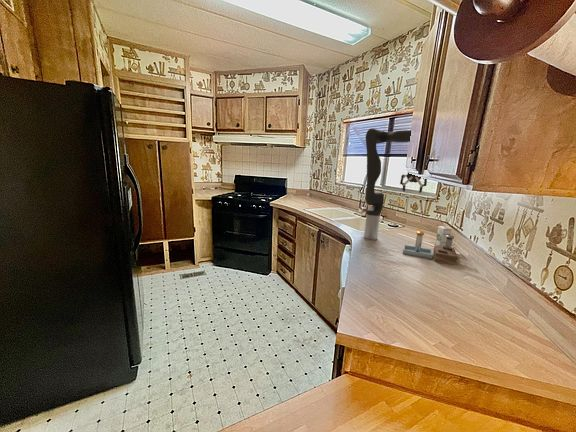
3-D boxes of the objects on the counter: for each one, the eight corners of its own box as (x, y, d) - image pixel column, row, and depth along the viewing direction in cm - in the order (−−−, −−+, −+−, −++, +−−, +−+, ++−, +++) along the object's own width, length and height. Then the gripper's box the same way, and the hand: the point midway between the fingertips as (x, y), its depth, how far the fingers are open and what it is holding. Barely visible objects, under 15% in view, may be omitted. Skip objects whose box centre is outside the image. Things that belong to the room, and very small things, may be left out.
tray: (403, 248, 157) (404, 244, 156) (431, 253, 150) (431, 249, 150) (402, 253, 148) (403, 249, 147) (431, 259, 141) (432, 255, 141)
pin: (442, 254, 148) (445, 234, 145) (450, 256, 146) (454, 235, 143) (442, 257, 145) (445, 236, 142) (450, 258, 143) (454, 237, 140)
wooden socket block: (433, 252, 152) (434, 244, 151) (452, 255, 148) (453, 247, 146) (434, 261, 138) (436, 253, 137) (455, 265, 134) (457, 256, 133)
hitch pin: (413, 250, 152) (416, 230, 149) (420, 252, 150) (424, 231, 147) (413, 252, 148) (416, 232, 145) (420, 254, 146) (424, 233, 143)
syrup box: (448, 250, 156) (452, 228, 153) (439, 249, 157) (443, 228, 153) (443, 247, 162) (447, 226, 159) (434, 246, 162) (438, 225, 159)
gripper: (429, 165, 146) (424, 192, 149) (403, 164, 152) (399, 190, 156) (429, 165, 139) (425, 194, 143) (402, 164, 146) (398, 191, 149)
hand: (411, 192), depth 149 cm, fingers open, 8 cm apart
